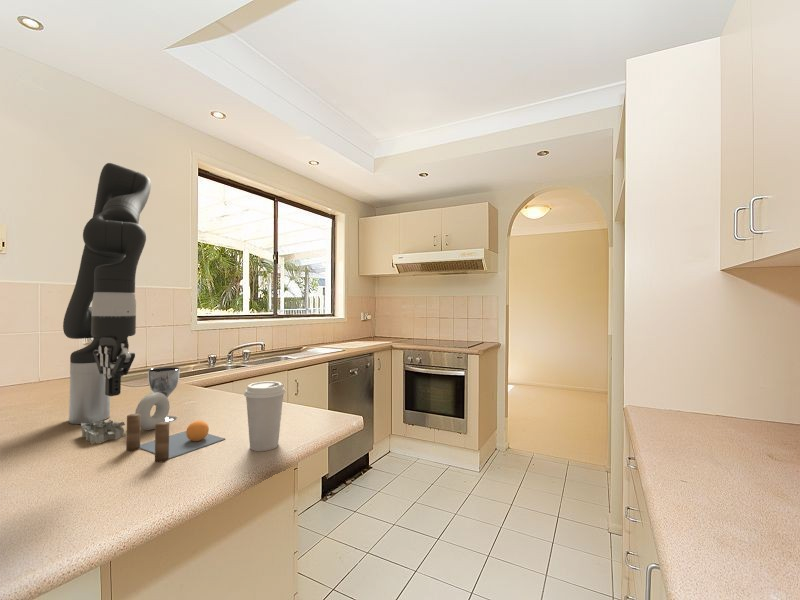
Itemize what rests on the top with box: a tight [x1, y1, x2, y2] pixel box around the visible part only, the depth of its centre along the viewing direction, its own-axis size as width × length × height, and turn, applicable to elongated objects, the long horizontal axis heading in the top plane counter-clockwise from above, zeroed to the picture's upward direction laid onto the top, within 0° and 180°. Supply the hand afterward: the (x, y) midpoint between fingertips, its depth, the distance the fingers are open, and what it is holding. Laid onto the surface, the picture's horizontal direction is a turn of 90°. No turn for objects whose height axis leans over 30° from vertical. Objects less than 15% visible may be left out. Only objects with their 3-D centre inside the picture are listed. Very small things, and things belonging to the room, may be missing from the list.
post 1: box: [125, 413, 141, 452], centre depth 88 cm, size 3×3×8 cm
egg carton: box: [80, 419, 126, 444], centre depth 96 cm, size 11×8×4 cm
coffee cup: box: [243, 380, 286, 452], centre depth 91 cm, size 10×10×15 cm
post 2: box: [154, 422, 170, 463], centre depth 82 cm, size 3×3×8 cm
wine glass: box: [147, 366, 181, 423], centre depth 110 cm, size 8×8×15 cm
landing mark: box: [139, 430, 226, 460], centre depth 92 cm, size 14×14×1 cm
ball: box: [185, 420, 210, 441], centre depth 93 cm, size 5×5×5 cm
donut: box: [134, 392, 171, 431], centre depth 102 cm, size 10×4×10 cm, turn 170°
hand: (112, 395), depth 79 cm, fingers closed
